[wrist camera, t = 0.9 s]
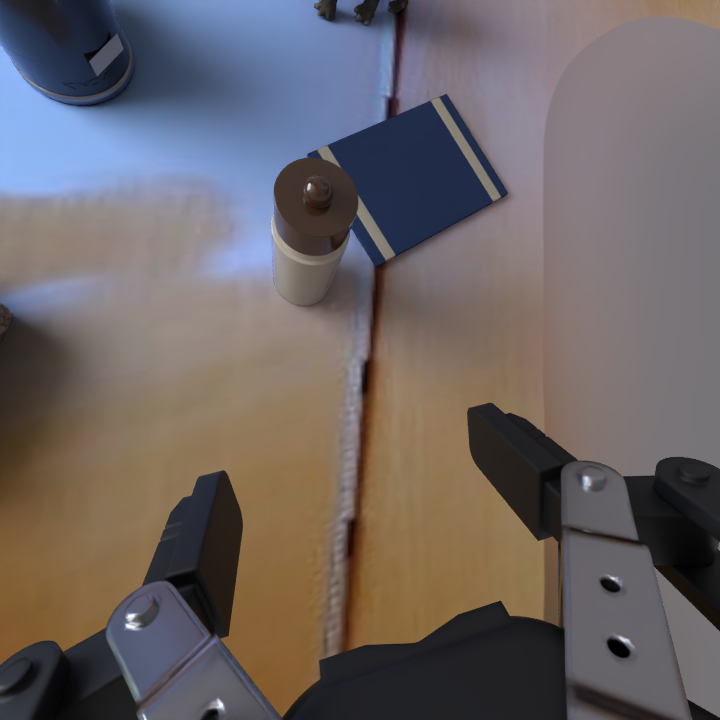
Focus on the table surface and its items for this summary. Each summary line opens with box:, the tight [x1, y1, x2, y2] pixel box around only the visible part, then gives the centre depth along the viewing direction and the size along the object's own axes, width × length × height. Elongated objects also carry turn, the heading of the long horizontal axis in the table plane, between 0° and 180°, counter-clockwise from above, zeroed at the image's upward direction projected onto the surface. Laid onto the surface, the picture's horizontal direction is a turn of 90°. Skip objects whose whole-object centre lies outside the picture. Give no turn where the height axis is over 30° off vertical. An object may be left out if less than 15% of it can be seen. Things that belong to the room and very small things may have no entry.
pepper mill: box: [271, 158, 358, 306], centre depth 28 cm, size 5×5×15 cm
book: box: [307, 94, 508, 267], centre depth 39 cm, size 13×18×1 cm
